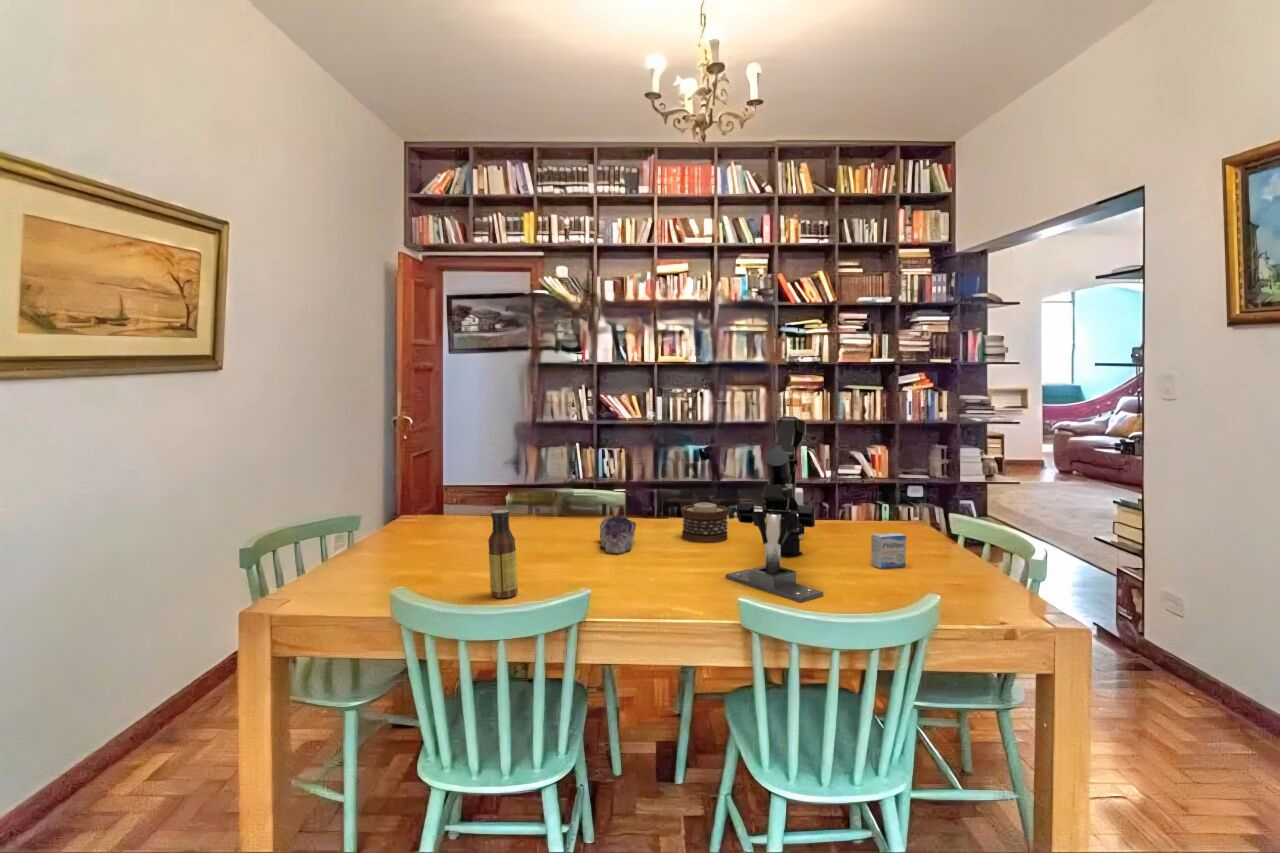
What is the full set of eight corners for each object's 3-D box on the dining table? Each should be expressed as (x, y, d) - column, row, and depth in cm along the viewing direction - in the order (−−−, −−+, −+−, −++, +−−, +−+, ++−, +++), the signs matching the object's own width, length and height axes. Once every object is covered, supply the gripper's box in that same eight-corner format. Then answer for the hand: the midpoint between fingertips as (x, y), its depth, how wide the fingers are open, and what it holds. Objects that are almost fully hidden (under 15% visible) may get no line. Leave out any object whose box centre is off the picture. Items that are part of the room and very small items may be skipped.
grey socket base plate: (725, 578, 178) (725, 562, 178) (747, 572, 183) (748, 557, 182) (800, 602, 159) (800, 585, 159) (823, 595, 164) (823, 579, 163)
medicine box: (880, 569, 186) (881, 537, 186) (870, 565, 191) (871, 533, 190) (905, 567, 189) (906, 535, 188) (895, 562, 193) (896, 531, 192)
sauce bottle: (519, 591, 167) (518, 508, 166) (515, 599, 161) (514, 513, 159) (491, 591, 167) (490, 508, 165) (486, 599, 161) (485, 513, 159)
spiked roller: (732, 501, 226) (724, 509, 212) (732, 534, 227) (723, 545, 213) (687, 498, 231) (676, 506, 216) (687, 531, 232) (676, 541, 217)
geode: (640, 555, 201) (636, 521, 200) (600, 561, 201) (595, 527, 199) (637, 536, 221) (633, 505, 220) (600, 541, 221) (596, 510, 219)
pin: (763, 569, 172) (764, 512, 171) (777, 568, 173) (778, 512, 172) (767, 573, 169) (768, 515, 168) (782, 572, 169) (783, 515, 168)
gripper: (738, 469, 175) (729, 522, 166) (815, 473, 170) (811, 527, 160) (743, 495, 183) (735, 547, 174) (816, 499, 178) (812, 553, 168)
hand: (772, 543), depth 169 cm, fingers closed on pin, 4 cm apart
